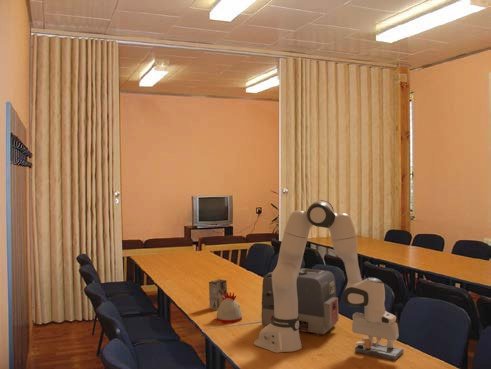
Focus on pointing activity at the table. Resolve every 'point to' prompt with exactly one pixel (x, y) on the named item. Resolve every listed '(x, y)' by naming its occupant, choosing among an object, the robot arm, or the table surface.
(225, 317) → the kitchen timer
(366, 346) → the fader orange
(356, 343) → the plate
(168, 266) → the table surface
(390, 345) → the fader ivory
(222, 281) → the coffee box
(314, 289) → the film projector
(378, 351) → the console
